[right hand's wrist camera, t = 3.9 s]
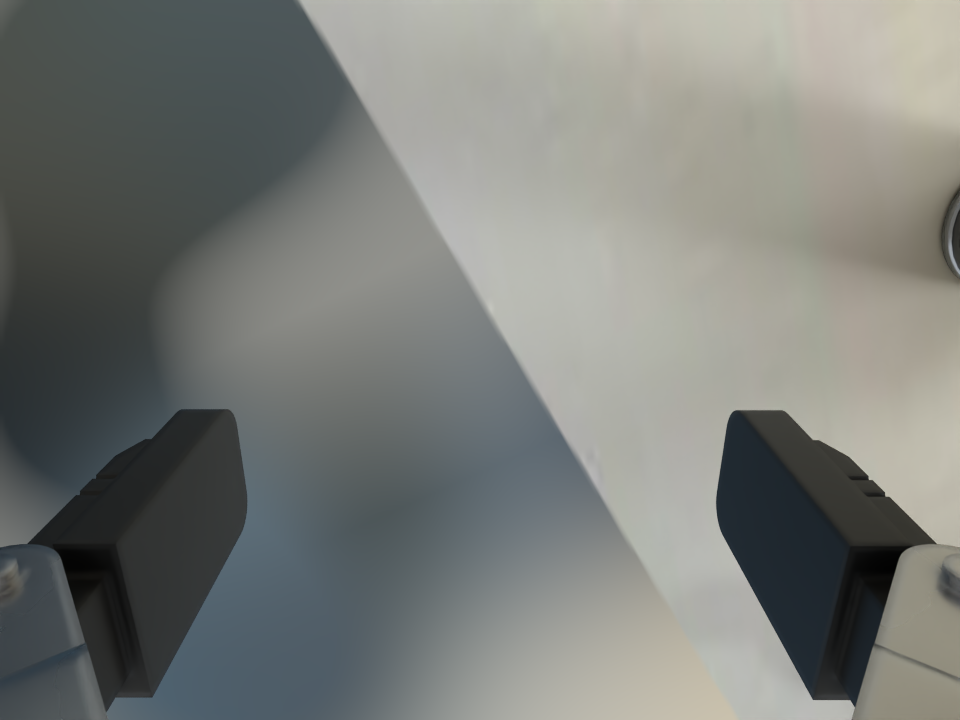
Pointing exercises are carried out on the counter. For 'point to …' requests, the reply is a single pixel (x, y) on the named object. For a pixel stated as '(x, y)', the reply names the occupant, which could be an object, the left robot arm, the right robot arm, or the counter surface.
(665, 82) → the counter surface
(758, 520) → the right robot arm
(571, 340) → the counter surface
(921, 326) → the counter surface
